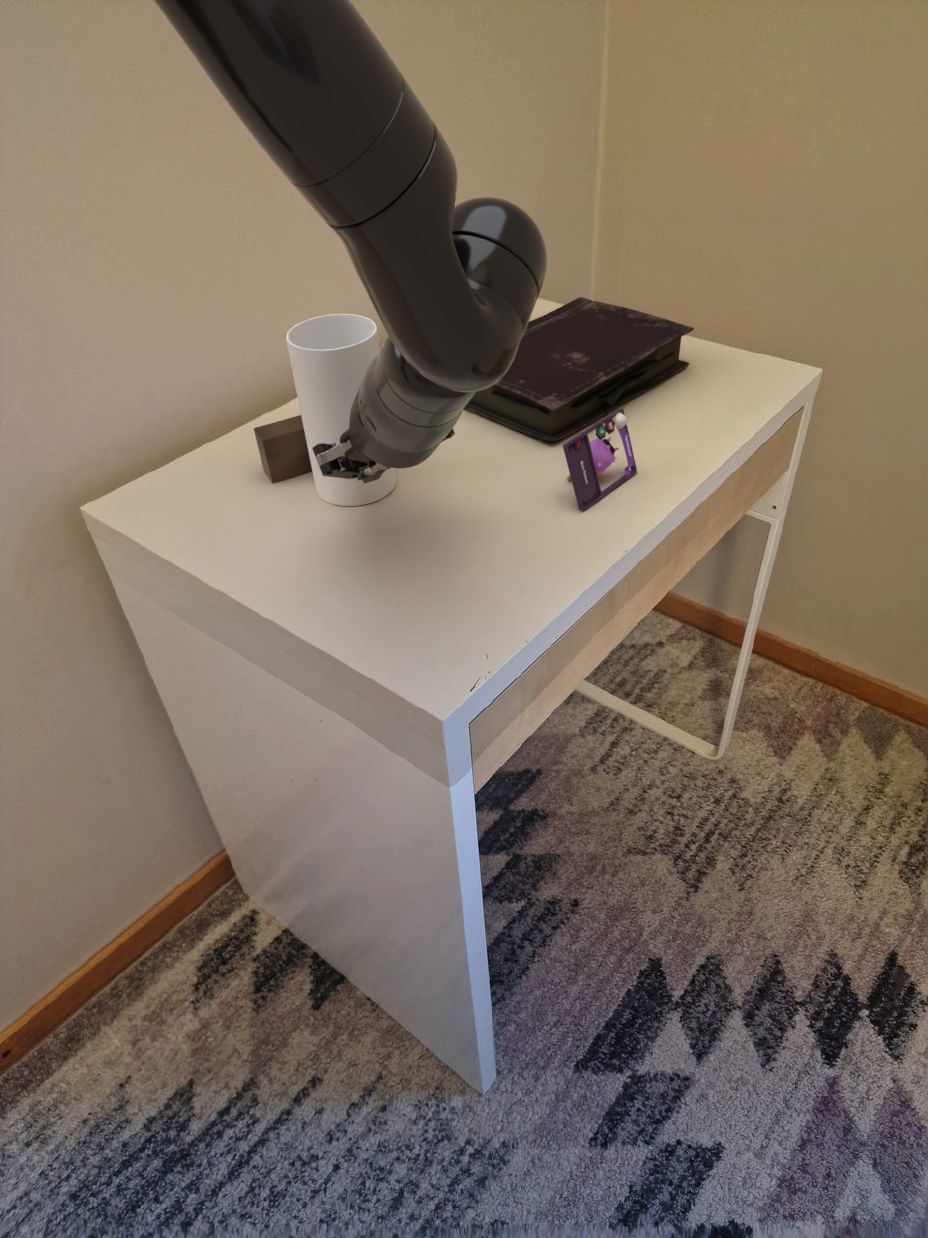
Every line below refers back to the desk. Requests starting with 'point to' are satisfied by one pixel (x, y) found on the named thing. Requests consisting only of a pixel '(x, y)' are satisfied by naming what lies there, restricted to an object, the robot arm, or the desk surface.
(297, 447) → the bar
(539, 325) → the diary
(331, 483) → the cup
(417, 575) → the desk surface
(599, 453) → the packaged eggplant toy
